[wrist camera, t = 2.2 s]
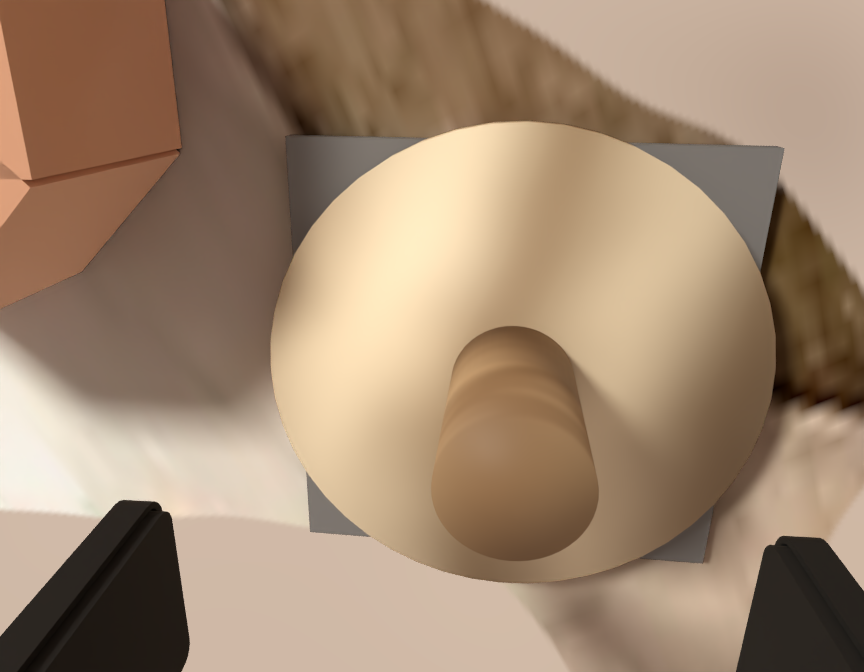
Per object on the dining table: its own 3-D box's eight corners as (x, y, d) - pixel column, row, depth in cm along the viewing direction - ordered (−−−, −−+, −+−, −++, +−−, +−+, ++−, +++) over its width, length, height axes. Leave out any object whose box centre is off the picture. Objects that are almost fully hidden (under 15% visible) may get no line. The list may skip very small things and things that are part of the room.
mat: (776, 146, 16) (784, 148, 16) (698, 552, 20) (702, 563, 20) (291, 134, 17) (285, 136, 17) (314, 522, 22) (309, 532, 21)
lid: (811, 126, 15) (980, 153, 10) (716, 577, 20) (796, 767, 15) (265, 115, 17) (143, 133, 11) (295, 542, 21) (220, 706, 16)
